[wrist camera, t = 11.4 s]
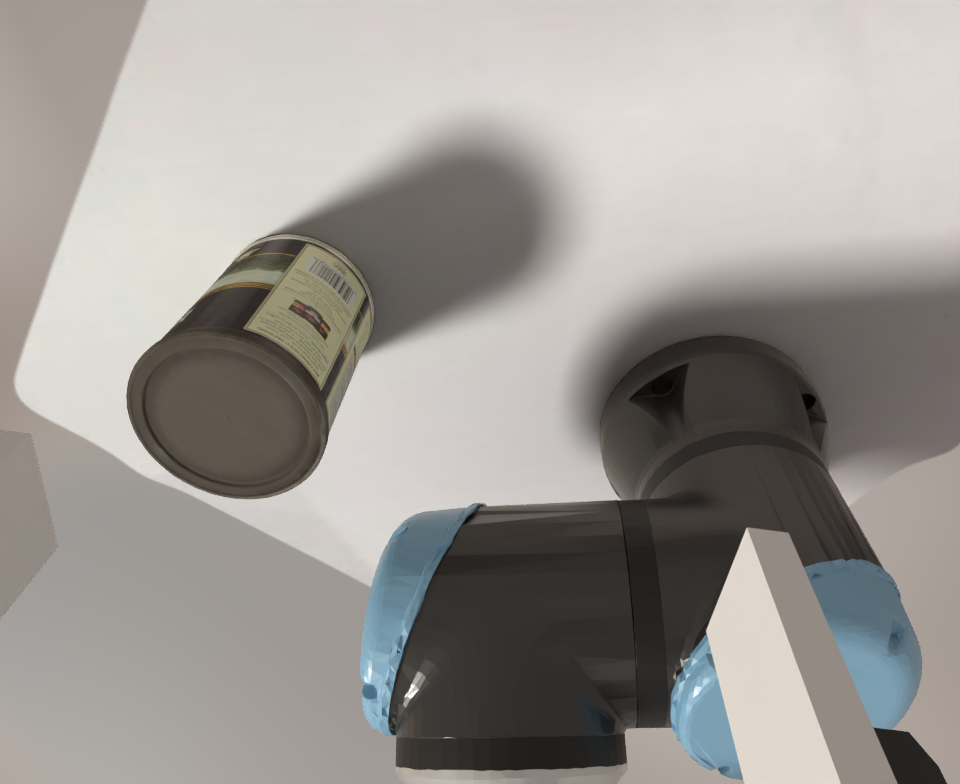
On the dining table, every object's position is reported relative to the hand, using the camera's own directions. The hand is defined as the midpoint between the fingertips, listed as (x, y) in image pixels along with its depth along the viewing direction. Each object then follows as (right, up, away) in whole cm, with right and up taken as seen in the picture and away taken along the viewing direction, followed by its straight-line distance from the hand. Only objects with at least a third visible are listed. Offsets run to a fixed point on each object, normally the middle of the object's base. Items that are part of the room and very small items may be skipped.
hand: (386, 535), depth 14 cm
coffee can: (-10, +9, +36) cm, 39 cm away
